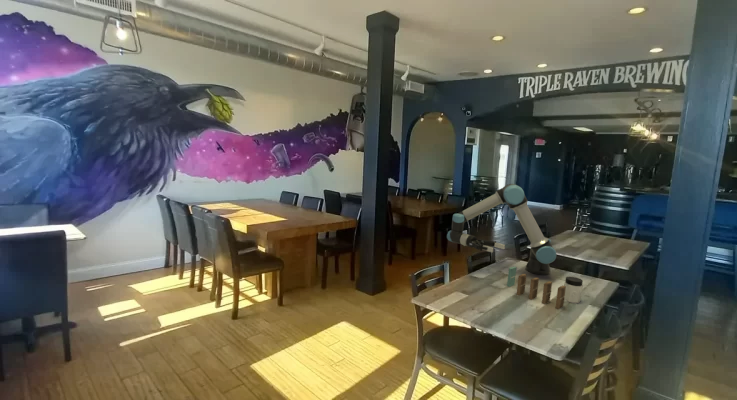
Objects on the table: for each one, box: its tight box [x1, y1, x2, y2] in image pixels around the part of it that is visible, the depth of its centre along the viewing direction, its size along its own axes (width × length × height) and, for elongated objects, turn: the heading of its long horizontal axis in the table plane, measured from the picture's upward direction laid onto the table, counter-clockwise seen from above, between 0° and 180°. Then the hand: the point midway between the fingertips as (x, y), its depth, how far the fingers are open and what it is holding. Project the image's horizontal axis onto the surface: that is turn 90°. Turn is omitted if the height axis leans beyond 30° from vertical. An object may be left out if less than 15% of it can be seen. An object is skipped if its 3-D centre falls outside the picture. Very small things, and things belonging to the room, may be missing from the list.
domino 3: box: [541, 281, 553, 305], centre depth 195 cm, size 6×2×11 cm, turn 131°
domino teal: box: [506, 266, 517, 288], centre depth 218 cm, size 6×2×11 cm, turn 131°
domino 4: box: [555, 284, 566, 310], centre depth 190 cm, size 6×2×11 cm, turn 131°
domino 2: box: [528, 277, 540, 301], centre depth 200 cm, size 6×2×11 cm, turn 131°
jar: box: [563, 276, 583, 304], centre depth 200 cm, size 9×8×12 cm
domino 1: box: [515, 273, 527, 296], centre depth 205 cm, size 6×2×11 cm, turn 131°
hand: (498, 248), depth 223 cm, fingers open, 13 cm apart
